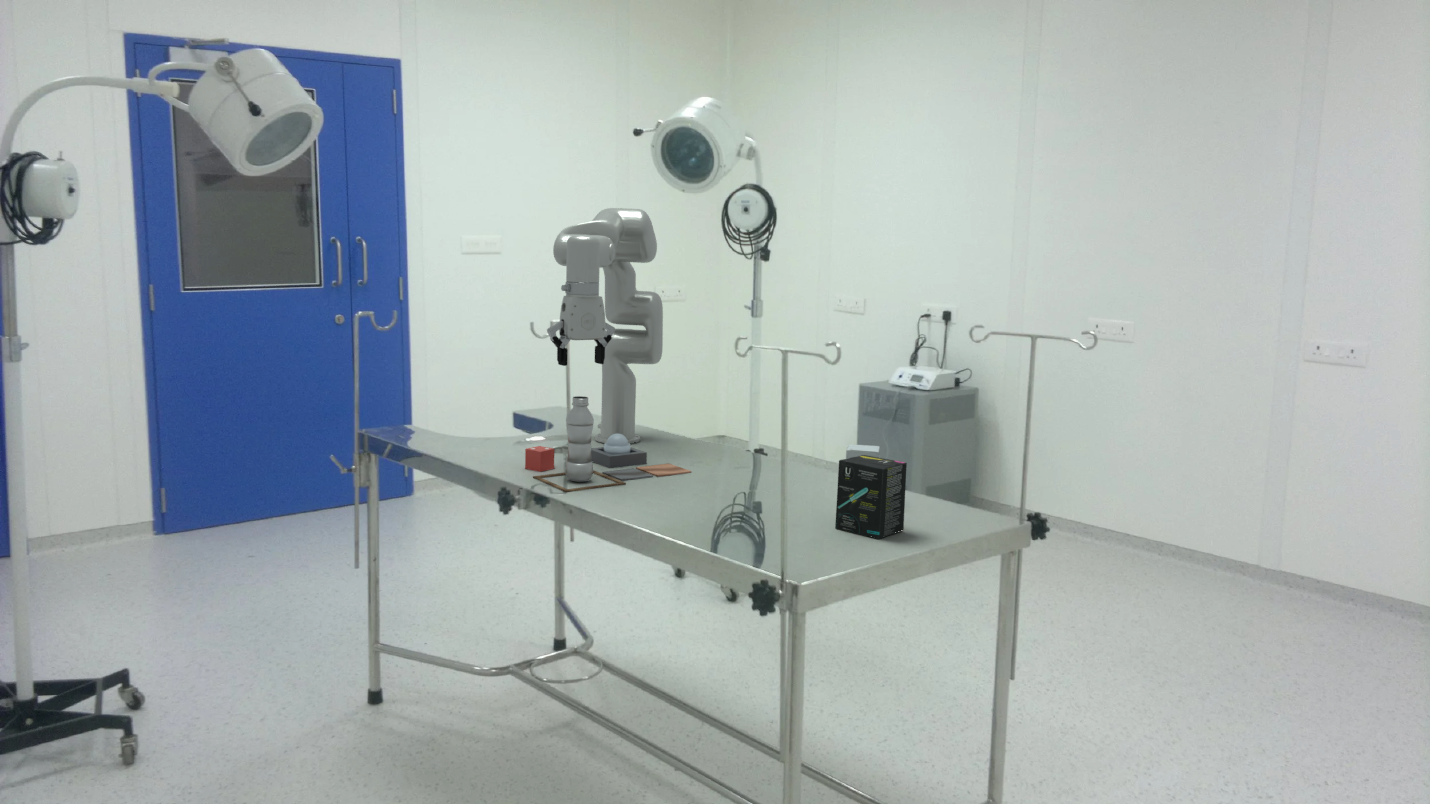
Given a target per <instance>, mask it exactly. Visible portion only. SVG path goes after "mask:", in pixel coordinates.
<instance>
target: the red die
mask: <svg viewBox="0 0 1430 804" xmlns="http://www.w3.org/2000/svg"><path fill="white" fill-rule="evenodd" d="M524 451H525V454H524V455H525V456H524V457H525V458H524V459H525V463H524V466H525V467H524V469H525V470H528V471H534V472H539V473H542V472H545V471H549V470H553V469H555V448H554V447H547V446H542V445H537V446H532V447H528V448H525V450H524Z"/></svg>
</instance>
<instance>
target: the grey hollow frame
mask: <svg viewBox="0 0 1430 804" xmlns="http://www.w3.org/2000/svg"><path fill="white" fill-rule="evenodd" d="M591 456H592V463H594V464H596V465H600V466H603V467H605V468H608V469H614V468H616V469H617V468H623V467H631V466H632V467H633V466H640V465H647V464H648V461H647V459H648V457H647V456H648V453H647V451H643V450H640V449H637V448H635V447H632V446H631V448H630V453H623V454H614V455H612V454H609V453H606V452H604V446H599V447H591Z"/></svg>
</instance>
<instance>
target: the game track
mask: <svg viewBox="0 0 1430 804" xmlns="http://www.w3.org/2000/svg"><path fill="white" fill-rule="evenodd" d="M691 473H692V470H689V469H686V468H684V467H681V466H678V465H676V464H672V463H669V462H668V463H661V464H654V465H653V464H651V465H643V466H636V467H635V468H634V467H631V468H623V469H622V468H621V469H615V470H607V471H602V472H599V471H597V470H594V469H593V474H594V475H596V476H599V477H601V478H604V479H607V480H609V481H611V482H613V483H606V484H604V483H603V484H598V485H597V484H596V485H590V486H582V487H581V486H580V487H573V488H565V487H563V486H561V485H559V484H556V483H554V482H552V481H551V480H550V481H549V480H548V479H545V478H553V477H562V476H566V472H565V471H564V472H559V473H549V474H541V475H533V476H532V479H535V480H536V481H539V482H540V483H543V484H546V485H548V486H550V487H553V488H555V489H557V490H559V491H562V492H564V493H570V492H579V491H586V490H594V489H601V488H609V487H614V486H615V487H616V486H617V487H618V486H625V485H627V482H625V481H633V480H638V479H639V480H640V479H648V478H654V477H657V478H659V477H667V476H668V477H670V476H675V475H676V476H677V475H684V474H691Z"/></svg>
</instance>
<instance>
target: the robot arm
mask: <svg viewBox="0 0 1430 804" xmlns="http://www.w3.org/2000/svg"><path fill="white" fill-rule="evenodd" d="M654 229H655V228H654V226H653V223H652V220H651V217H650V216H649V214H648V213H647V212H646V211H645V210H643V209H640V208H622V207H621V208H619V207H618V208H617V207H609V208H608V207H607V208H604V209H601V210H600V211H599V212H598V213H597V214H596V215H595V217H594V218H593V219H592V220H590V221H586V222H581V223H577V224H574V225H570V226H567V227H564V228H563V229H562V230H560V232H559V233H558V234H557V236H556V238H555V240H554V244H553V247H552V249H553V257H554V260H555V261H556V263H557V264H558V265H560V266H562V267H566V277H565V278H566V279H565V280H566V281H565V284H562V285H561V287H560V289H561V291H562V292H565V295H563V297H562V301H561V306H560V311H559V312H560V313H559V321H558V322H556V323H555V324H553V325H551V326H550V327H548V328H547V329H546V331H547V334H548V336H549V338H550V341H551V342H552V343H553V344H554V346H555V347H556V348H557V349H556V350H557V351H556V360H557V364H558V365H559V366H563V367H566V366H568V348H566V347H567V345H568V344H569V343H570V342H571V341H592V340H593V341H594V342H595V343H596V345H595V346H594V363H595V364H600V365H601V382H602V383H601V412H600V413H601V415H600V417H601V418H600V419H601V421H600V423H598V424H597V429H599V430H600V433H598V434H595V441H597V442H598V443H603V444H605V443H607V440H608V438H609V437H610V436H611V435H613V434H622V435H624V436H625V437H626V439H627V440H628V443H631V444H635V443H634V442H636V443H638V441H639V440H640V441H641V436H640V435H638V434H636V430H635V429H636V427H635V426H636V403H637V402H636V401H637V400H636V399H637V396H636V395H637V394H636V393H637V379H636V375H635V373H634V372H633V370H632V369H631V368H630V366H629V365H630V364H632V365H656V364H658V363H659V362H660V360H661V359H662V356H663V339H664V338H663V335H664V331H663V330H664V320H663V319H664V316H663V315H664V311H663V309H664V306H663V301H662V297H661V296H660V295H659V294H658V293H657V292H655V291H647V290H638V289H637V287H636V286H637V285H636V284H637V282H636V281H637V274H636V270H635V268H634V266H633V265H632V264H631V263H638V264H639V263H640V264H643V263H644V264H647V263H651V262H652V261H654V259H655V258H656V255H657V251H658V250H657V249H658V243H657V242H658V241H657V238H656V234H655V231H654ZM600 269H602V270H603V274H604V299H603V296H602V295H601V296H600ZM606 321H608V322H609V323H611V324H613V325H614V324H615V325H620V326H621V325H622V326H623V325H625V326H643V327H644V328H645V329H632V328H615V327H614V326H613V325H611V324H609V323H607V322H606ZM558 331H559V337H558V336H557V332H558ZM640 441H639V442H640Z"/></svg>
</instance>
